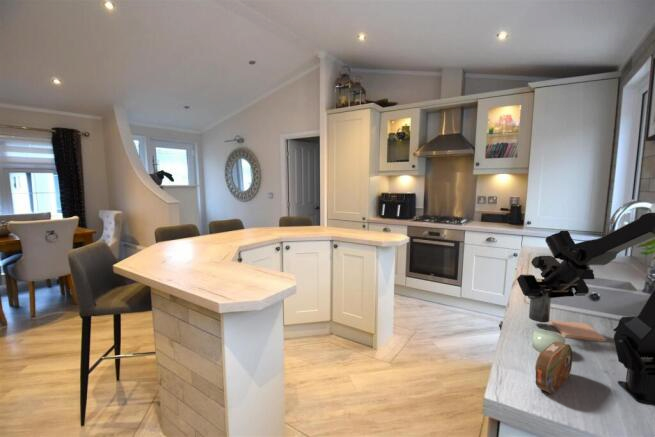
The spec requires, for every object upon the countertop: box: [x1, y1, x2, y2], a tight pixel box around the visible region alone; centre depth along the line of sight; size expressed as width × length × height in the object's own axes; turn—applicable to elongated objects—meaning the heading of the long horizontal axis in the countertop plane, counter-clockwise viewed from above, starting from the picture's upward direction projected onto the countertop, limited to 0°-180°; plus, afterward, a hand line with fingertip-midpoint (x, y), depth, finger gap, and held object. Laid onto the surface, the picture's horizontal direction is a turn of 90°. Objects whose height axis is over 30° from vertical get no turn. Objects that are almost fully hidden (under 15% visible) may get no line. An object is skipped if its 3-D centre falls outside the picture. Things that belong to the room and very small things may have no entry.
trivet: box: [549, 319, 607, 342], centre depth 96 cm, size 10×10×1 cm
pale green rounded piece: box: [532, 329, 566, 354], centre depth 85 cm, size 7×7×4 cm
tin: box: [534, 342, 573, 395], centre depth 71 cm, size 15×3×8 cm, turn 126°
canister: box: [528, 277, 552, 323], centre depth 99 cm, size 5×5×12 cm
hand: (537, 297), depth 100 cm, fingers closed on canister, 5 cm apart
